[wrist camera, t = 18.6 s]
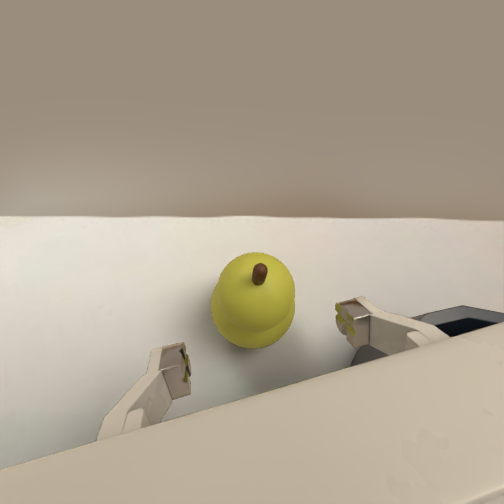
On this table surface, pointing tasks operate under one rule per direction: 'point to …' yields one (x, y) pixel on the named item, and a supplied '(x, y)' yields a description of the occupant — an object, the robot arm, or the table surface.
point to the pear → (254, 301)
